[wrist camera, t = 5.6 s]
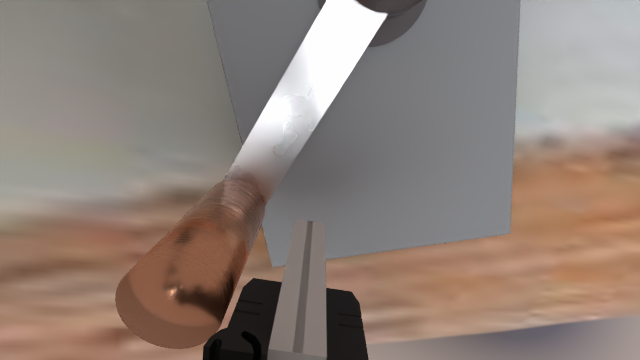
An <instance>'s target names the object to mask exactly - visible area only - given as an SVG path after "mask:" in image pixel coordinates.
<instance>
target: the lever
mask: <svg viewBox="0 0 640 360" xmlns="http://www.w3.org/2000/svg"><path fill="white" fill-rule="evenodd" d="M421 1H422V0H326V2H325V4H324V6H323V7H322V9H321V11H320V13H319V14H318V16H317V18H316V20H315V21H314V23H313V25H312V26H311V28H310V30H309V32H308V33H307V35H306V37H305V39H304V40H303V42H302V44H301V46H300V47H299V49H298V51H297V53H296V54H295V56H294V58H293V60H292V61H291V63H290V65H289V66H288V68H287V70H286V72H285V73H284V75H283V77H282V79H281V80H280V82H279V84H278V86H277V87H276V89H275V91H274V93H273V94H272V96H271V98H270V99H269V101H268V103H267V105H266V106H265V108H264V110H263V112H262V113H261V115H260V117H259V119H258V120H257V122H256V124H255V126H254V127H253V129H252V131H251V132H250V134H249V136H248V138H247V139H246V141H245V143H244V145H243V146H242V148H241V150H240V152H239V153H238V155H237V157H236V159H235V160H234V162H233V164H232V165H231V167H230V169H229V171H228V172H227V174H226V176H225V178H224V179H223V181H222V182H220V183H218V184H216V185H215V186H214V187H213V188H212V189H211V190H210V191H209V192H208V193H207V194H206V195H205V196H204V197H203V198H202V199H201V200H200V201H199V202H198V203H197V204H196V205H195V206H194V207H193V208H192V209H191V210H190V211H189V212H188V213H187V214H186V215H185V216H184V217H183V218H182V219H181V220H180V221H179V222H178V223H177V224H176V225H175V226H174V227H173V228H172V229H171V230H170V231H169V232H168V233H167V234H166V235H165V236H164V237H163V238H162V239H161V240H160V241H159V242H158V243H157V244H156V245H155V246H154V247H153V248H152V249H151V250H150V251H149V252H148V253H147V254H146V255H145V256H144V257H143V258H142V259H141V260H140V261H139V262H138V263H137V264H136V265H135V266H134V267H133V268H132V269H131V270H130V271H129V272H128V273H127V274H126V275H125V276H124V277H123V278H122V280H121V281H120V283H119V285H118V287H117V291H116V299H115V300H116V307H117V310H118V313H119V315H120V317H121V319H122V321H123V322H124V323H125V325H126V326H127V327H128V328H129V329H130V330H131V331H132V332H133V333H134V334H136V335H137V336H138V337H140V338H141V339H143V340H145V341H147V342H149V343H151V344H154V345H157V346H160V347H165V348H173V349H183V348H190V347H194V346H197V345H200V344H202V343H204V342H206V341H207V340H209V338H210V337H211V336H212V335H214V334H215V333H216V332H217V331H218V329H219V327H220V326H221V323H222V321H223V318H224V316H225V313H226V311H227V308H228V306H229V303H230V301H231V298H232V296H233V293H234V291H235V288H236V286H237V283H238V281H239V278H240V276H241V273H242V271H243V268H244V266H245V263H246V261H247V259H248V256H249V254H250V251H251V249H252V246H253V244H254V241H255V239H256V236H257V234H258V231H259V229H260V226H261V224H262V221H263V219H264V216H265V205H266V204H267V202H268V201H269V199H270V198H271V196H272V194H273V193H274V191H275V190H276V188H277V187H278V185H279V183H280V182H281V180H282V179H283V177H284V176H285V174H286V173H287V171H288V169H289V168H290V166H291V165H292V163H293V162H294V160H295V158H296V157H297V155H298V154H299V152H300V151H301V149H302V148H303V146H304V144H305V143H306V141H307V140H308V138H309V137H310V135H311V133H312V132H313V130H314V129H315V127H316V126H317V124H318V123H319V121H320V119H321V118H322V116H323V115H324V113H325V112H326V110H327V108H328V107H329V105H330V104H331V102H332V101H333V99H334V98H335V96H336V94H337V93H338V91H339V90H340V88H341V87H342V85H343V83H344V82H345V80H346V79H347V77H348V76H349V74H350V73H351V71H352V69H353V68H354V66H355V65H356V63H357V62H358V60H359V58H360V57H361V55H362V54H363V52H364V51H365V49H366V48H367V46H368V44H369V43H370V41H371V40H372V38H373V37H374V35H375V33H376V32H377V30H378V29H379V27H380V26H381V24H382V23H383V21H384V20H389V19H393V18H396V17H399V16H401V15H403V14H405V13H406V12H408V11H409V10H411V9H412V8H413V7H415V6H416V5H417V4H418V3H420V2H421Z"/></svg>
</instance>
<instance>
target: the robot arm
mask: <svg viewBox="0 0 640 360" xmlns="http://www.w3.org/2000/svg"><path fill="white" fill-rule="evenodd" d="M203 360H368V354H367V348H366V341H365V335H364V330H363V323H362V319H361V310H360V304H359V302H358V301H357V299H356V298H355V296H354V295H353V293H352V292H350V291H343V290H337V289H330V288H326V247H325V223H321V222H314V221H308V220H302V219H295V223H294V228H293V233H292V237H291V242H290V247H289V252H288V257H287V261H286V266H285V271H284V276H283V281H282V282H276V281H269V280H262V279H256V278H253V279H252V280H251V281H250V282H249V283H247V284H246V285H245V286H244V287H243V289H242V292H241V294H240V297H239V299H238V302H237V304H236V307H235V309H234V312H233V315H232V317H231V320H230V322H229V325H228V327H227V328H225V329H222V330H220V331H218V332H217V333H215V334H214V335H212V336H211V337H210V338H209V340H208V341H207V342H206V344H205V345H204V348H203Z"/></svg>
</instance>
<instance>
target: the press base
mask: <svg viewBox="0 0 640 360" xmlns="http://www.w3.org/2000/svg"><path fill="white" fill-rule="evenodd" d="M325 2H326V0H207V4H208V8H209V12H210V16H211V20H212V24H213V28H214V32H215V36H216V40H217V44H218V48H219V52H220V56H221V61H222V65H223V69H224V73H225V77H226V81H227V85H228V89H229V93H230V97H231V101H232V105H233V109H234V113H235V117H236V122H237V126H238V130H239V134H240V138H241V142H242V146H243V145H244V143H245V141H246V139H247V138H248V136H249V134H250V132H251V131H252V129H253V127H254V126H255V124H256V122H257V120H258V119H259V117H260V115H261V113H262V112H263V110H264V108H265V106H266V105H267V103H268V101H269V99H270V98H271V96H272V94H273V93H274V91H275V89H276V87H277V86H278V84H279V82H280V80H281V79H282V77H283V75H284V73H285V72H286V70H287V68H288V66H289V65H290V63H291V61H292V60H293V58H294V56H295V54H296V53H297V51H298V49H299V47H300V46H301V44H302V42H303V40H304V39H305V37H306V35H307V33H308V32H309V30H310V28H311V26H312V25H313V23H314V21H315V20H316V18H317V16H318V14H319V13H320V11H321V9H322V7H323V6H324V4H325ZM519 20H520V0H422V1H421V2H420V3H418V4H417V5H416V6H415V7H413V8H412V9H411V10H409V11H408V12H406V13H405V14H403V15H401V16H399V17H396V18H393V19H389V20H384V21H383V23H382V24H381V26H380V27H379V29H378V30H377V32H376V33H375V35H374V37H373V38H372V40H371V41H370V43H369V44H368V46H367V48H366V49H365V51H364V52H363V54H362V55H361V57H360V58H359V60H358V62H357V63H356V65H355V66H354V68H353V69H352V71H351V73H350V74H349V76H348V77H347V79H346V80H345V82H344V83H343V85H342V87H341V88H340V90H339V91H338V93H337V94H336V96H335V98H334V99H333V101H332V102H331V104H330V105H329V107H328V108H327V110H326V112H325V113H324V115H323V116H322V118H321V119H320V121H319V123H318V124H317V126H316V127H315V129H314V130H313V132H312V133H311V135H310V137H309V138H308V140H307V141H306V143H305V144H304V146H303V148H302V149H301V151H300V152H299V154H298V155H297V157H296V158H295V160H294V162H293V163H292V165H291V166H290V168H289V169H288V171H287V173H286V174H285V176H284V177H283V179H282V180H281V182H280V183H279V185H278V187H277V188H276V190H275V191H274V193H273V194H272V196H271V198H270V199H269V201H268V202H267V204H266V205H265V216H264V219H263V221H262V227H263V231H264V235H265V239H266V244H267V248H268V252H269V256H270V260H271V264H272V267H277V266H284V265H286V261H287V257H288V252H289V247H290V242H291V237H292V233H293V228H294V223H295V219H302V220H308V221H314V222H321V223H325V247H326V260H327V259H334V258H341V257H348V256H355V255H362V254H370V253H377V252H384V251H391V250H398V249H405V248H412V247H419V246H427V245H434V244H441V243H448V242H455V241H462V240H469V239H476V238H483V237H491V236H498V235H505V234H510V222H511V199H512V177H513V154H514V132H515V110H516V87H517V65H518V42H519Z"/></svg>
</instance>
